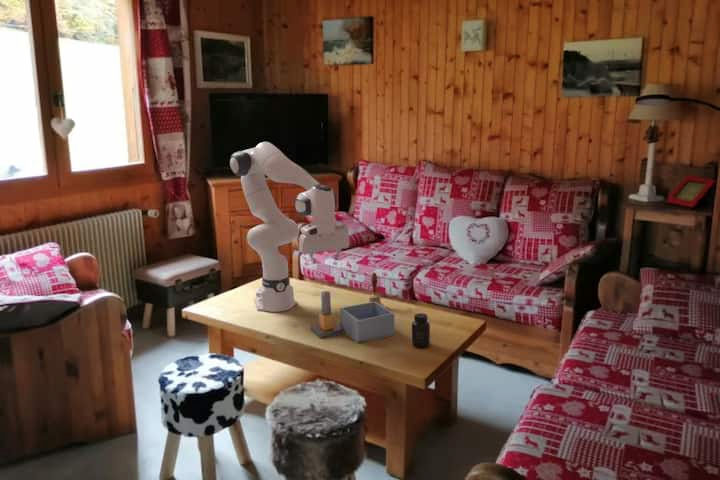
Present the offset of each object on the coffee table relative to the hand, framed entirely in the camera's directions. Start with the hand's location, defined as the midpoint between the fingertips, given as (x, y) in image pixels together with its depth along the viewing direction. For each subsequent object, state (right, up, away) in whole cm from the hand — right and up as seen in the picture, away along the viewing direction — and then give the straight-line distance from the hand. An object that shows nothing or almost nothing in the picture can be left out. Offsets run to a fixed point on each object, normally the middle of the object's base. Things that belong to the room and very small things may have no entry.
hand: (325, 261), depth 229 cm
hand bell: (+20, -22, +33) cm, 45 cm away
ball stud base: (0, -28, +7) cm, 29 cm away
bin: (+16, -28, +6) cm, 33 cm away
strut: (0, -27, +7) cm, 27 cm away
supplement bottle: (+37, -32, -7) cm, 49 cm away
